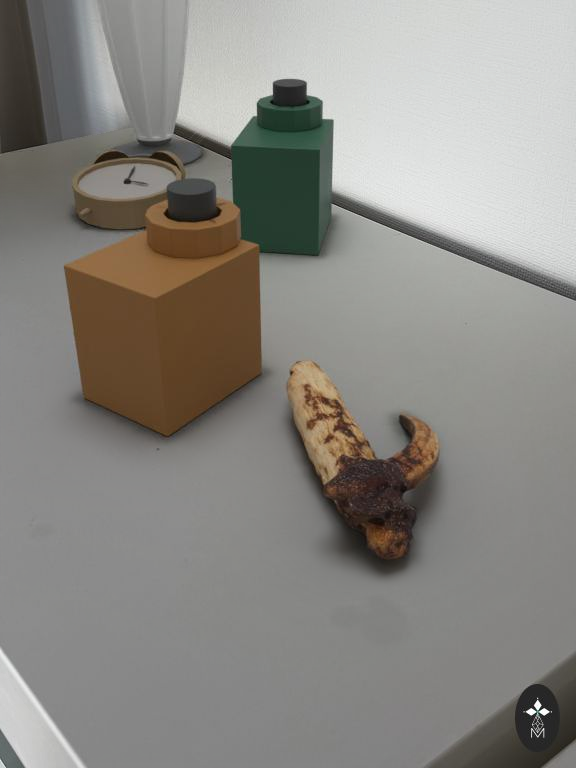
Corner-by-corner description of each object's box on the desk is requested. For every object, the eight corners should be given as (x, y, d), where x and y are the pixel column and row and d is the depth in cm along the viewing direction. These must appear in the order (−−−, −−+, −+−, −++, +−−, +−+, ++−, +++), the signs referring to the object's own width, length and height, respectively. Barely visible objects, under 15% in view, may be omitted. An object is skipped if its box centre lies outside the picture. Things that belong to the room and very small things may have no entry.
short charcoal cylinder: (276, 101, 84) (275, 78, 83) (308, 102, 83) (309, 79, 82) (270, 109, 81) (269, 85, 80) (304, 110, 81) (304, 87, 80)
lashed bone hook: (500, 557, 47) (386, 382, 62) (515, 490, 45) (393, 324, 59) (336, 584, 45) (258, 396, 60) (343, 515, 43) (260, 337, 57)
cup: (170, 136, 115) (157, -46, 103) (220, 157, 107) (212, -37, 96) (91, 152, 109) (68, -39, 97) (138, 175, 101) (119, -29, 90)
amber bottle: (189, 336, 68) (179, 187, 62) (271, 367, 64) (268, 211, 58) (83, 397, 60) (58, 235, 54) (167, 437, 56) (152, 266, 50)
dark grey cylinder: (191, 205, 60) (189, 174, 58) (227, 215, 58) (225, 184, 57) (158, 219, 57) (156, 187, 56) (195, 230, 56) (193, 197, 55)
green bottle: (257, 209, 92) (254, 92, 85) (332, 213, 90) (335, 95, 84) (234, 250, 82) (229, 122, 76) (318, 255, 81) (320, 126, 75)
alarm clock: (57, 201, 85) (93, 132, 96) (66, 244, 88) (100, 172, 100) (171, 204, 84) (193, 133, 96) (176, 247, 88) (197, 174, 99)
